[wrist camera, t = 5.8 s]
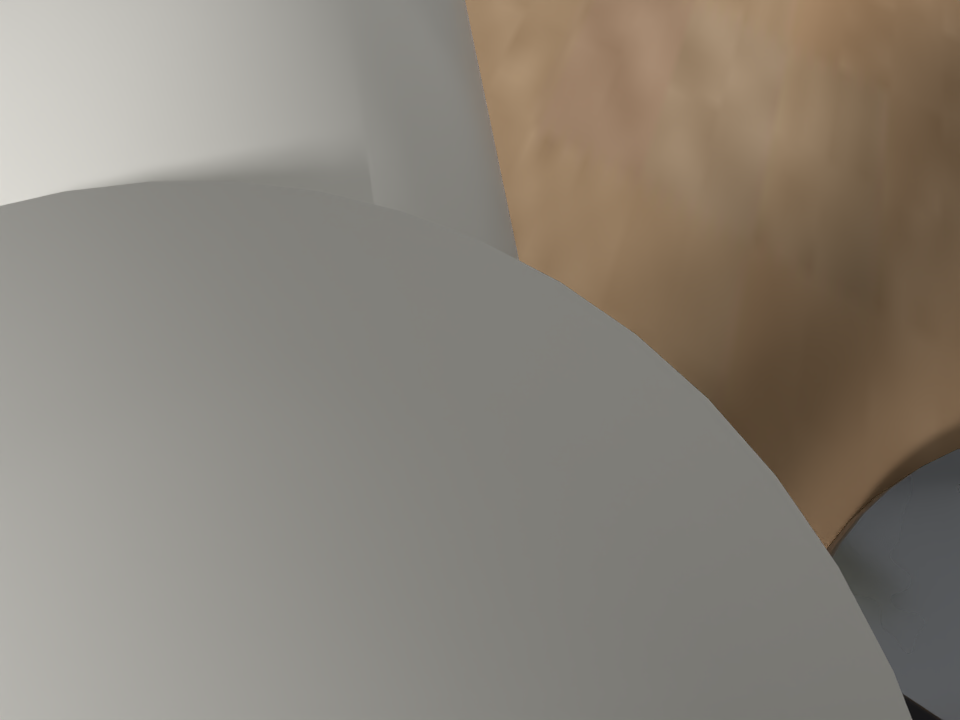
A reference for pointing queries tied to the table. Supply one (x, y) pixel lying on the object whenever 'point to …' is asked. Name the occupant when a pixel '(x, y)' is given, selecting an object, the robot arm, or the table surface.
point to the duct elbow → (351, 408)
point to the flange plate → (912, 580)
